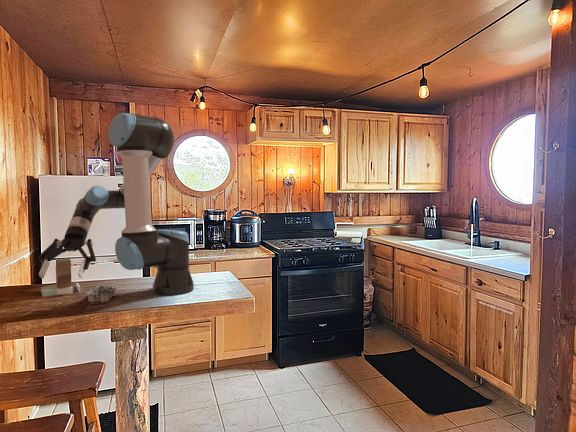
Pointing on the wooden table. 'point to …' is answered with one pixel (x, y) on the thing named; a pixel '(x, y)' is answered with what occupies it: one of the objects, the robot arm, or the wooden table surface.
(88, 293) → the egg carton
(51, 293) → the board
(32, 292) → the wooden table surface
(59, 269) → the walnut block
